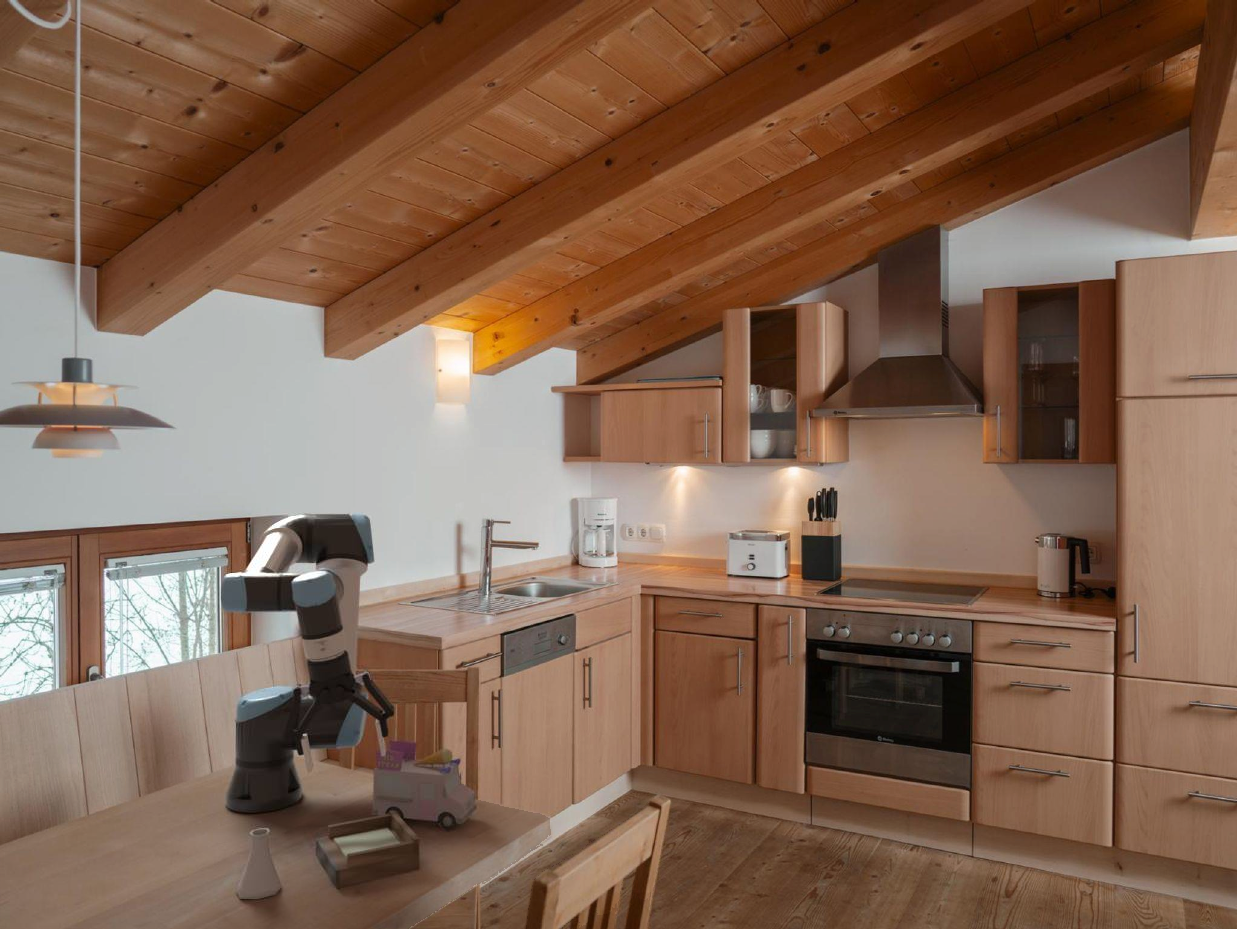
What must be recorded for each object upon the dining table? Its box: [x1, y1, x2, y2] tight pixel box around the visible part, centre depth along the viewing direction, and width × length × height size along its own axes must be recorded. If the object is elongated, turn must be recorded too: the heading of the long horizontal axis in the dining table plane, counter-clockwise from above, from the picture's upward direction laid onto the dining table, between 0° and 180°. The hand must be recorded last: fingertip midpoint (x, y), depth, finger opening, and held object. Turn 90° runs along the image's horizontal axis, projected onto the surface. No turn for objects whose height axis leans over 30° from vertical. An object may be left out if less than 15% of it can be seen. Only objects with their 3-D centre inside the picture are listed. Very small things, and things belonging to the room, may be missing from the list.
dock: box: [315, 810, 421, 889], centre depth 164 cm, size 15×15×6 cm
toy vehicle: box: [370, 739, 478, 831], centre depth 183 cm, size 9×20×15 cm, turn 78°
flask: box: [235, 827, 283, 900], centre depth 153 cm, size 7×7×10 cm
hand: (347, 761), depth 172 cm, fingers open, 13 cm apart
